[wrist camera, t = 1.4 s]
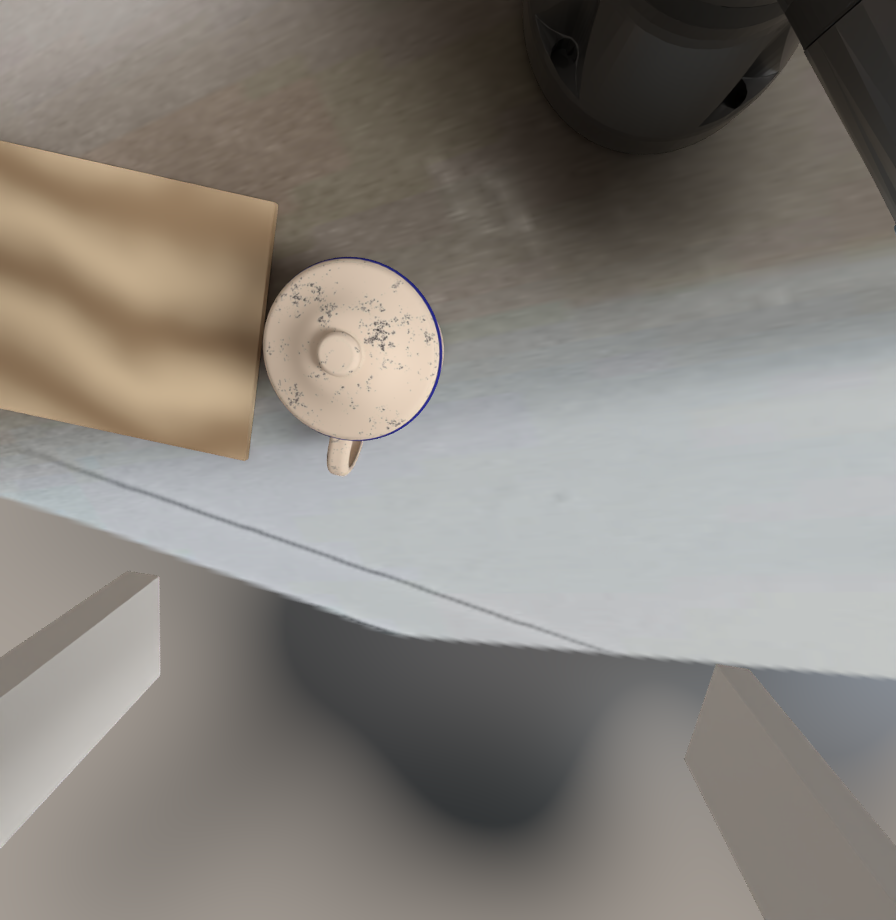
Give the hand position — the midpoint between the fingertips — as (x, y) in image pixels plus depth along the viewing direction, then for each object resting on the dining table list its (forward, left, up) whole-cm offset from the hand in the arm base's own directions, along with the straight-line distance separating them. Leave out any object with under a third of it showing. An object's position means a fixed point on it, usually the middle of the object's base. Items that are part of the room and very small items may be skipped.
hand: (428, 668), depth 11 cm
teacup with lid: (-4, -6, -24) cm, 25 cm away
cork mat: (-5, -24, -23) cm, 34 cm away
